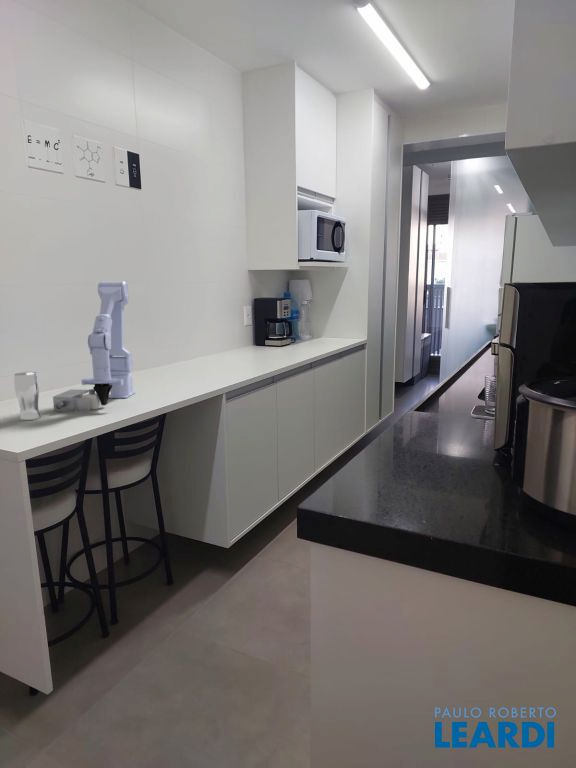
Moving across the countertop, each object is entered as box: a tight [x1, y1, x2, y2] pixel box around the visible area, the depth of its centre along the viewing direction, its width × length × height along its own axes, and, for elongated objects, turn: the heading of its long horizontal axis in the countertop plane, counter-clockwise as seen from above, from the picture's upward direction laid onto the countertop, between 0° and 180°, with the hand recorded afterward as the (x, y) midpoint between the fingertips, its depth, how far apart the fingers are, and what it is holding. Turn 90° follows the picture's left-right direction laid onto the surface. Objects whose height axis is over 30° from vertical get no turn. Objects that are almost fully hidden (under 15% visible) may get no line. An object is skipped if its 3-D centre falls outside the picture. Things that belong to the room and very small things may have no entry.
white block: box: [82, 388, 104, 410], centre depth 180 cm, size 5×5×6 cm
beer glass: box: [13, 371, 41, 422], centre depth 165 cm, size 7×7×15 cm
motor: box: [52, 388, 92, 412], centre depth 179 cm, size 15×12×5 cm
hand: (104, 404), depth 180 cm, fingers closed
